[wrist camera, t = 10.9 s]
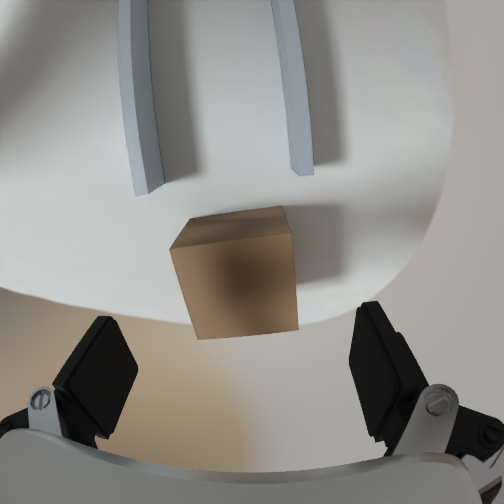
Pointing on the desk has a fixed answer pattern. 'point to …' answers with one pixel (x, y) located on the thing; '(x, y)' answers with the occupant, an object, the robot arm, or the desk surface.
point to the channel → (142, 106)
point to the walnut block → (237, 273)
